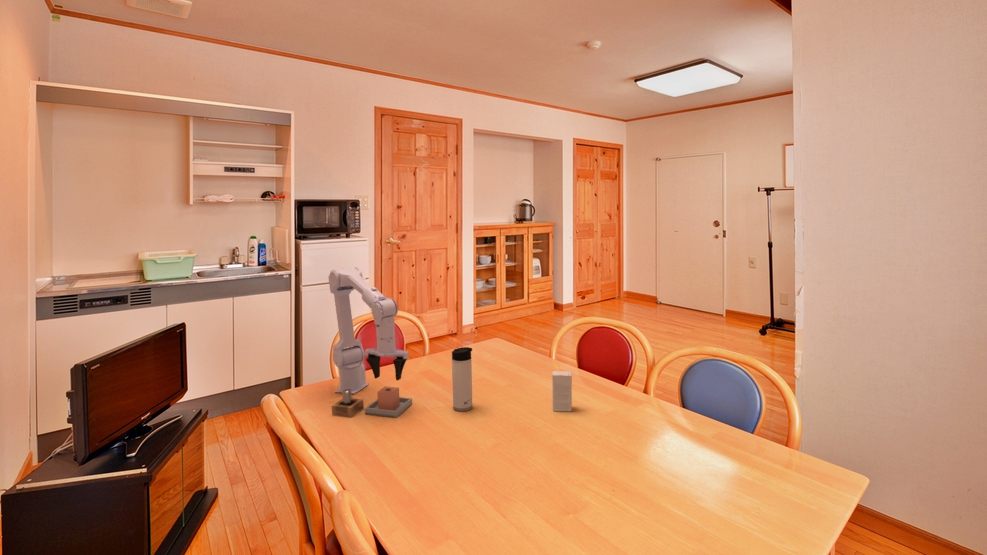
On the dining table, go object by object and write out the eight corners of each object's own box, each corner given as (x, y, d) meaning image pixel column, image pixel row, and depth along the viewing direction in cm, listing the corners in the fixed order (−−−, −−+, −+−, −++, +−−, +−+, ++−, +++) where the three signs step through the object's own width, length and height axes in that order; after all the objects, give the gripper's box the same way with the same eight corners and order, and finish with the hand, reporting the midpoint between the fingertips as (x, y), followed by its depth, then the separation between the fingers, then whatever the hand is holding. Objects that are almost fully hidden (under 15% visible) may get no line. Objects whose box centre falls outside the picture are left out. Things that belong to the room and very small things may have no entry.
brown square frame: (345, 406, 158) (344, 397, 157) (363, 408, 156) (363, 399, 155) (332, 414, 151) (331, 405, 151) (351, 417, 149) (351, 408, 149)
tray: (382, 400, 162) (382, 395, 161) (412, 404, 158) (412, 398, 158) (365, 414, 151) (364, 408, 151) (396, 417, 148) (396, 411, 148)
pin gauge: (346, 409, 155) (345, 388, 154) (354, 410, 154) (353, 389, 153) (341, 412, 152) (340, 392, 151) (349, 413, 152) (348, 392, 151)
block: (386, 403, 158) (385, 385, 157) (399, 405, 156) (398, 387, 156) (378, 409, 153) (377, 391, 152) (392, 411, 152) (391, 392, 151)
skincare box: (570, 406, 155) (571, 371, 153) (571, 412, 151) (572, 375, 149) (552, 406, 155) (552, 370, 154) (552, 411, 151) (552, 375, 150)
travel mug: (470, 412, 151) (469, 351, 149) (450, 411, 153) (449, 350, 150) (475, 404, 157) (474, 345, 155) (456, 403, 159) (454, 345, 156)
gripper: (358, 339, 150) (361, 380, 152) (400, 342, 146) (402, 384, 148) (370, 333, 156) (372, 373, 158) (410, 336, 152) (412, 377, 154)
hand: (387, 378), depth 153 cm, fingers open, 7 cm apart
